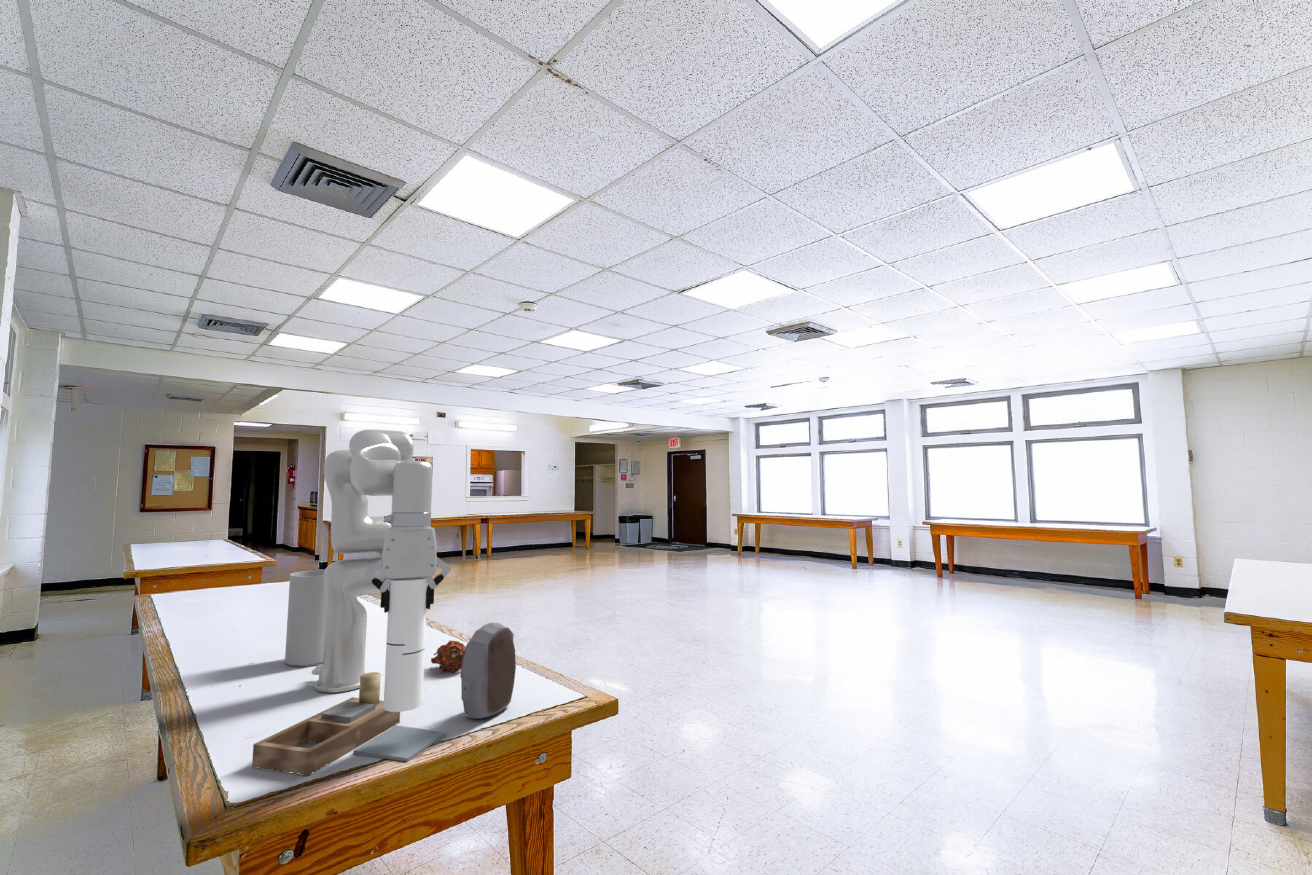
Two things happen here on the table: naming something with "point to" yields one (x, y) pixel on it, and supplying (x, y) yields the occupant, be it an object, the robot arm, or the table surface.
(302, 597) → the cylinder vase
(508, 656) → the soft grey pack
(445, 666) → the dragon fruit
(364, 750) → the mat
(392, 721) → the wooden divided tray
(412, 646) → the cylindrical container
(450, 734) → the table surface
